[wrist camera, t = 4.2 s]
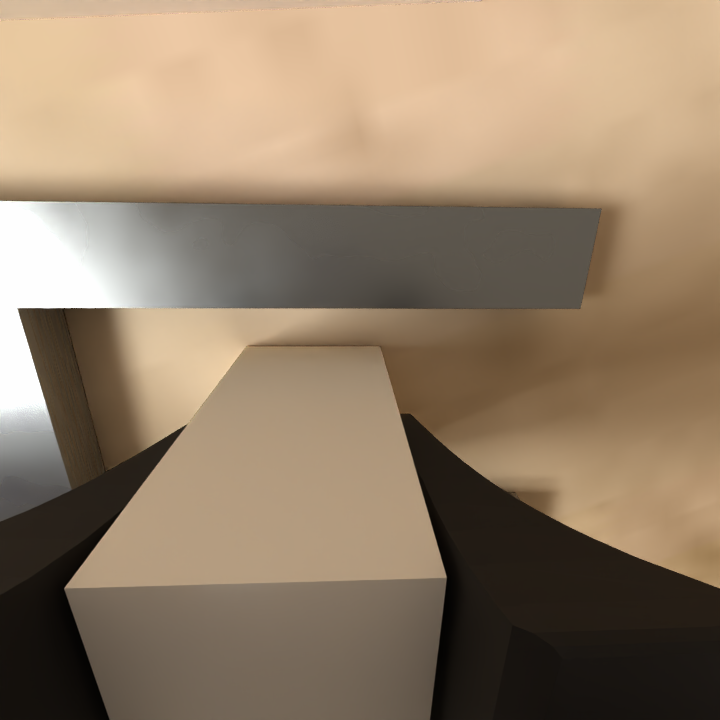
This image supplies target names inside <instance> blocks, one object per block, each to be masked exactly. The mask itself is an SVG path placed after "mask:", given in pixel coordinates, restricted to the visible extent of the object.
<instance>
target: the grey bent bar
mask: <svg viewBox="0 0 720 720" xmlns="http://www.w3.org/2000/svg"><path fill="white" fill-rule="evenodd" d="M600 214H601V209H588V208H511V207H433V206H355V205H277V204H200V203H122V202H44V201H0V521H3V520H5V519H8V518H10V517H13V516H15V515H18V514H20V513H23V512H25V511H27V510H30V509H32V508H34V507H36V506H39V505H41V504H43V503H45V502H47V501H49V500H52V499H54V498H56V497H58V496H60V495H62V494H64V493H67V492H69V491H71V490H73V489H75V488H77V487H79V486H81V485H83V484H85V483H87V482H89V481H91V480H92V479H94V478H96V477H98V476H100V475H102V474H103V473H105V469H104V466H103V462H102V458H101V454H100V450H99V446H98V443H97V439H96V435H95V431H94V427H93V423H92V419H91V416H90V412H89V408H88V404H87V400H86V396H85V392H84V389H83V385H82V381H81V377H80V373H79V369H78V366H77V362H76V358H75V354H74V350H73V346H72V342H71V339H70V335H69V331H68V327H67V323H66V319H65V315H64V312H63V308H417V309H580V308H581V303H582V299H583V294H584V289H585V285H586V280H587V275H588V270H589V266H590V261H591V256H592V251H593V247H594V242H595V237H596V233H597V228H598V223H599V218H600ZM509 494H510V495H512V496H514V497H515V498H517V499H518V500H520V499H519V498H518V496H517V495H516V493H509Z"/></svg>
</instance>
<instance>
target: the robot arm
mask: <svg viewBox="0 0 720 720" xmlns="http://www.w3.org/2000/svg"><path fill="white" fill-rule="evenodd" d="M400 417H401V420H402V424H403V427H404V431H405V434H406V438H407V441H408V445H409V448H410V451H411V455H412V458H413V462H414V465H415V469H416V472H417V476H418V479H419V483H420V486H421V490H422V493H423V497H424V500H425V504H426V507H427V511H428V514H429V518H430V521H431V525H432V528H433V531H434V535H435V538H436V542H437V545H438V549H439V552H440V556H441V559H442V563H443V566H444V570H445V573H446V577H447V581H446V589H445V597H444V606H443V614H442V622H441V631H440V639H439V648H438V656H437V664H436V673H435V681H434V689H433V698H432V706H431V715H430V720H720V588H717V587H714V586H712V585H709V584H706V583H704V582H701V581H698V580H695V579H693V578H690V577H687V576H685V575H682V574H679V573H677V572H674V571H671V570H669V569H666V568H663V567H661V566H658V565H655V564H652V563H650V562H647V561H644V560H642V559H639V558H637V557H634V556H632V555H630V554H627V553H625V552H623V551H620V550H618V549H616V548H614V547H611V546H609V545H607V544H604V543H602V542H600V541H598V540H595V539H593V538H591V537H589V536H587V535H585V534H583V533H580V532H578V531H576V530H574V529H572V528H570V527H568V526H566V525H564V524H562V523H560V522H558V521H556V520H555V519H553V518H551V517H549V516H547V515H545V514H543V513H541V512H539V511H538V510H536V509H534V508H532V507H530V506H529V505H527V504H525V503H523V502H522V501H520V500H518V499H517V498H515V497H514V496H512V495H510V494H509V493H507V492H506V491H504V490H503V489H501V488H499V487H498V486H496V485H495V484H493V483H492V482H490V481H489V480H487V479H486V478H485V477H483V476H482V475H480V474H479V473H478V472H476V471H475V470H474V469H472V468H471V467H470V466H469V465H467V464H466V463H465V462H463V461H462V460H461V459H460V458H458V457H457V456H456V455H455V454H453V453H452V452H451V451H450V450H449V449H448V448H446V447H445V446H444V445H443V444H442V443H441V442H440V441H439V440H437V439H436V438H435V437H434V436H433V435H432V434H431V433H430V432H429V431H428V430H427V429H426V428H425V427H424V426H422V425H421V424H420V423H419V422H418V421H417V420H416V419H415V418H414V417H413V416H412V415H411V414H400ZM187 425H188V424H187ZM187 425H185V426H184V427H182V428H180V429H179V430H177V431H175V432H174V433H172V434H170V435H169V436H167V437H165V438H164V439H162V440H161V441H159V442H157V443H156V444H154V445H152V446H151V447H149V448H147V449H146V450H144V451H142V452H141V453H139V454H137V455H136V456H134V457H132V458H130V459H128V460H127V461H125V462H123V463H121V464H120V465H118V466H116V467H114V468H112V469H111V470H109V471H107V472H105V473H103V474H102V475H100V476H98V477H96V478H94V479H92V480H91V481H89V482H87V483H85V484H83V485H81V486H79V487H77V488H75V489H73V490H71V491H69V492H67V493H64V494H62V495H60V496H58V497H56V498H54V499H52V500H49V501H47V502H45V503H43V504H41V505H39V506H36V507H34V508H32V509H30V510H27V511H25V512H23V513H20V514H18V515H15V516H13V517H10V518H8V519H5V520H3V521H0V720H110V719H109V716H108V713H107V711H106V708H105V705H104V702H103V699H102V696H101V693H100V690H99V687H98V685H97V682H96V679H95V676H94V673H93V670H92V667H91V664H90V662H89V659H88V656H87V653H86V650H85V647H84V644H83V641H82V639H81V636H80V633H79V630H78V627H77V624H76V621H75V618H74V615H73V613H72V610H71V607H70V604H69V601H68V598H67V595H66V592H65V590H64V588H65V587H66V585H67V584H68V583H69V581H70V580H71V579H72V577H73V576H74V575H75V573H76V572H77V571H78V569H79V568H80V567H81V565H82V564H83V563H84V561H85V560H86V559H87V557H88V556H89V555H90V553H91V552H92V551H93V549H94V548H95V547H96V546H97V544H98V543H99V542H100V540H101V539H102V538H103V536H104V535H105V534H106V532H107V531H108V530H109V528H110V527H111V526H112V524H113V523H114V522H115V520H116V519H117V518H118V516H119V515H120V514H121V512H122V511H123V510H124V508H125V507H126V506H127V504H128V503H129V502H130V500H131V499H132V498H133V496H134V495H135V494H136V492H137V491H138V490H139V488H140V487H141V486H142V484H143V483H144V482H145V480H146V479H147V478H148V476H149V475H150V474H151V472H152V471H153V470H154V468H155V467H156V466H157V464H158V463H159V462H160V460H161V459H162V458H163V456H164V455H165V454H166V452H167V451H168V450H169V448H170V447H171V446H172V444H173V443H174V442H175V441H176V439H177V438H178V437H179V435H180V434H181V433H182V431H183V430H184V429H185V427H186V426H187Z"/></svg>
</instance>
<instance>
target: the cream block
mask: <svg viewBox="0 0 720 720" xmlns="http://www.w3.org/2000/svg"><path fill="white" fill-rule="evenodd" d="M446 581H447V577H446V573H445V570H444V566H443V563H442V559H441V556H440V552H439V549H438V545H437V542H436V538H435V535H434V531H433V528H432V525H431V521H430V518H429V514H428V511H427V507H426V504H425V500H424V497H423V493H422V490H421V486H420V483H419V479H418V476H417V472H416V469H415V465H414V462H413V458H412V455H411V451H410V448H409V445H408V441H407V438H406V434H405V431H404V427H403V424H402V420H401V417H400V413H399V410H398V406H397V403H396V399H395V396H394V392H393V389H392V385H391V382H390V378H389V375H388V372H387V368H386V365H385V361H384V358H383V354H382V351H381V347H380V346H246V347H245V349H244V350H243V351H242V353H241V354H240V355H239V357H238V358H237V359H236V361H235V362H234V363H233V365H232V366H231V367H230V369H229V370H228V371H227V373H226V374H225V375H224V377H223V378H222V379H221V381H220V382H219V383H218V385H217V386H216V387H215V389H214V390H213V391H212V393H211V394H210V395H209V397H208V398H207V399H206V401H205V402H204V403H203V405H202V406H201V407H200V409H199V410H198V411H197V413H196V414H195V415H194V417H193V418H192V419H191V421H190V422H189V423H188V425H187V426H186V427H185V429H184V430H183V431H182V433H181V434H180V435H179V437H178V438H177V439H176V441H175V442H174V443H173V444H172V446H171V447H170V448H169V450H168V451H167V452H166V454H165V455H164V456H163V458H162V459H161V460H160V462H159V463H158V464H157V466H156V467H155V468H154V470H153V471H152V472H151V474H150V475H149V476H148V478H147V479H146V480H145V482H144V483H143V484H142V486H141V487H140V488H139V490H138V491H137V492H136V494H135V495H134V496H133V498H132V499H131V500H130V502H129V503H128V504H127V506H126V507H125V508H124V510H123V511H122V512H121V514H120V515H119V516H118V518H117V519H116V520H115V522H114V523H113V524H112V526H111V527H110V528H109V530H108V531H107V532H106V534H105V535H104V536H103V538H102V539H101V540H100V542H99V543H98V544H97V546H96V547H95V548H94V549H93V551H92V552H91V553H90V555H89V556H88V557H87V559H86V560H85V561H84V563H83V564H82V565H81V567H80V568H79V569H78V571H77V572H76V573H75V575H74V576H73V577H72V579H71V580H70V581H69V583H68V584H67V585H66V587H65V588H64V590H65V592H66V595H67V598H68V601H69V604H70V607H71V610H72V613H73V615H74V618H75V621H76V624H77V627H78V630H79V633H80V636H81V639H82V641H83V644H84V647H85V650H86V653H87V656H88V659H89V662H90V664H91V667H92V670H93V673H94V676H95V679H96V682H97V685H98V687H99V690H100V693H101V696H102V699H103V702H104V705H105V708H106V711H107V713H108V716H109V719H110V720H430V715H431V706H432V698H433V689H434V681H435V673H436V664H437V656H438V648H439V639H440V631H441V622H442V614H443V606H444V597H445V589H446Z"/></svg>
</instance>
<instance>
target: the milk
mask: <svg viewBox="0 0 720 720" xmlns="http://www.w3.org/2000/svg"><path fill="white" fill-rule="evenodd" d="M475 1H481V0H0V21H4V20H29V19H54V18H78V17H103V16H128V15H153V14H177V13H202V12H227V11H252V10H277V9H301V8H326V7H351V6H376V5H400V4H425V3H450V2H475Z"/></svg>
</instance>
